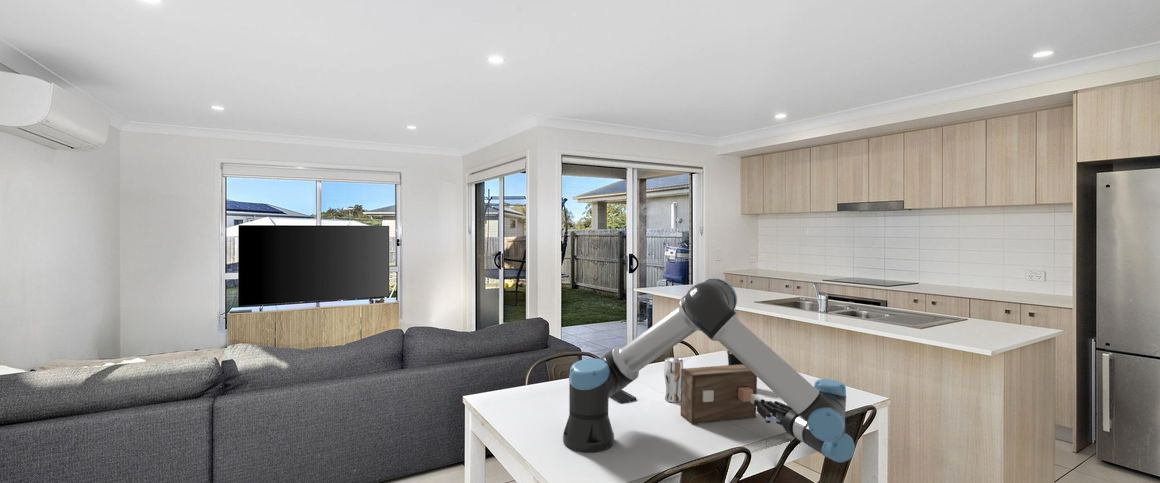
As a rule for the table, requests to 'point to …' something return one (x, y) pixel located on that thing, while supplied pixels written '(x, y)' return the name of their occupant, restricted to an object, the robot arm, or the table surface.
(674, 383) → the beer glass
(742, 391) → the terracotta key
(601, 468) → the table surface
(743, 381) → the key box
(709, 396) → the oat key
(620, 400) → the phone
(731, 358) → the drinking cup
